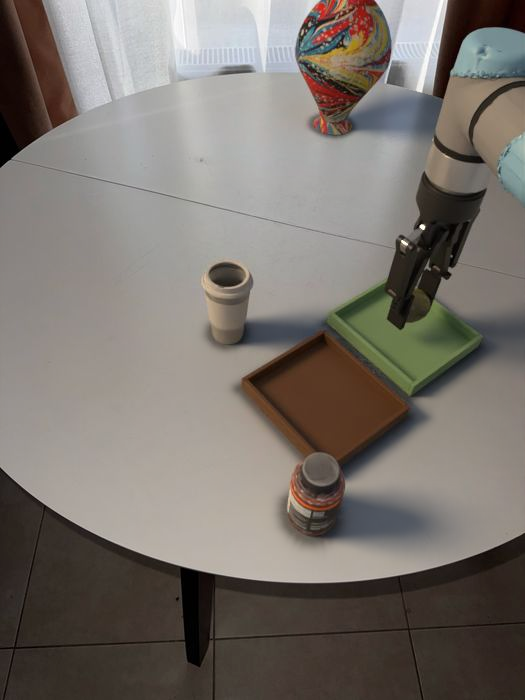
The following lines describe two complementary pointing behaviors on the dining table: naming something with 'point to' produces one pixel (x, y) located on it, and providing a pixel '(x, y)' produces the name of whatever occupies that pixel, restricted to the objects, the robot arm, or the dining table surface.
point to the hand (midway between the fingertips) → (408, 315)
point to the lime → (418, 306)
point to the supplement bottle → (315, 494)
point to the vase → (342, 57)
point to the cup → (227, 298)
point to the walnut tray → (325, 398)
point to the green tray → (403, 338)
